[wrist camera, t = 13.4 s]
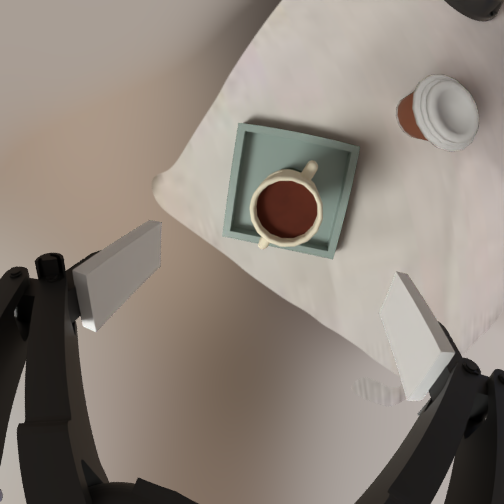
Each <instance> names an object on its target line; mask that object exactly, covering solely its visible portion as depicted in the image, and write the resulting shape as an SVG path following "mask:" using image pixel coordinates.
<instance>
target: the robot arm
mask: <svg viewBox="0 0 504 504" xmlns="http://www.w3.org/2000/svg"><path fill="white" fill-rule="evenodd" d="M445 1H446V2H447V3H448V4H449V5H450V6H452V7H453V8H454V9H456V10H457V11H458V12H460V13H462V14H463V15H465V16H467V17H469V18H471V19H474V20H477V21H487V20H489V19H491V18H493V17H495V16H496V15H497V13H498V11H499V9H500V8H501V6H502V4H503V2H504V0H445ZM161 225H162V222H157V221H153V220H149V221H147V222H146V223H144V224H142V225H141V226H139V227H137V228H136V229H134V230H133V231H131V232H129V233H128V234H126V235H125V236H123V237H121V238H120V239H118V240H117V241H115V242H114V243H112V244H110V245H109V246H107V247H106V248H104V249H103V250H100V251H97V252H94V253H92V254H90V255H88V256H87V257H86V258H85V259H82V260H81V261H80V262H78V263H77V264H75V265H74V266H72V267H71V268H69V269H68V270H66V271H65V265H64V258H63V256H62V255H61V254H59V253H47V254H44V255H41V256H40V257H38V258H37V259H36V260H35V265H36V270H37V275H38V279H33V278H29V273H28V269H27V268H25V267H15V268H14V267H13V268H11V269H10V270H8V271H7V272H6V273H5V274H4V275H3V276H2V278H1V279H0V465H1V459H2V454H3V449H4V443H5V437H6V432H7V427H8V422H9V418H10V413H11V409H12V405H13V401H14V397H15V394H16V390H17V387H18V383H19V380H20V377H21V373H22V371H23V368H24V365H25V361H26V373H25V422H24V423H19V425H18V427H17V442H18V454H19V462H20V470H21V477H22V483H23V488H24V493H25V498H26V503H27V504H198V503H196V502H194V501H192V500H190V499H188V498H187V497H185V496H183V495H181V494H179V493H178V492H176V491H173V490H170V489H167V488H164V487H161V486H158V485H156V484H153V483H151V482H148V481H145V480H143V479H141V478H138V479H137V481H136V483H135V484H134V483H125V482H110V483H109V481H108V478H107V476H106V474H105V472H104V470H103V468H102V466H101V463H100V460H99V458H98V454H97V450H96V446H95V443H94V439H93V435H92V430H91V426H90V422H89V417H88V412H87V406H86V401H85V395H84V389H83V383H82V376H81V367H80V359H79V349H78V336H77V325H76V321H75V320H76V319H77V318H78V317H79V316H81V320H82V324H83V327H85V328H88V329H90V330H92V331H95V332H97V331H98V330H99V329H100V328H101V327H102V326H103V324H104V323H105V322H106V321H107V320H108V319H109V318H110V317H111V316H112V315H113V314H114V313H115V312H116V311H117V310H118V309H119V307H121V306H122V304H123V303H124V302H125V301H126V300H127V299H128V298H129V297H130V296H131V295H132V294H133V293H134V292H135V291H136V290H137V289H138V288H139V287H140V286H141V285H142V284H143V283H144V282H145V281H146V280H147V279H148V278H149V277H150V276H151V275H152V274H153V273H154V272H155V271H156V270H157V269H158V268H159V267H160V259H161V258H160V257H161V256H160V255H161ZM379 314H380V317H381V320H382V323H383V326H384V328H385V331H386V334H387V337H388V340H389V343H390V346H391V349H392V352H393V355H394V358H395V361H396V364H397V368H398V371H399V374H400V378H401V381H402V385H403V388H404V392H405V395H406V399H407V400H408V401H421V400H422V399H423V398H424V397H425V395H426V394H427V393H428V391H429V393H430V396H431V398H430V400H429V401H428V402H427V403H426V405H425V406H424V407H423V408H422V410H420V412H419V413H418V415H420V416H419V417H418V419H417V421H416V422H415V424H414V426H413V427H412V429H411V430H410V432H409V434H408V435H407V437H406V438H405V440H404V441H403V443H402V444H401V446H400V447H399V449H398V450H397V451H396V453H395V454H394V456H393V457H392V459H391V460H390V461H389V463H388V464H387V465H386V467H385V468H384V469H383V470H382V472H381V473H380V474H379V476H378V477H377V478H376V479H375V481H374V482H373V483H372V484H371V485H370V487H369V488H368V489H367V490H366V491H365V493H364V494H363V495H362V496H361V497H360V498H359V499H358V500H357V501H356V503H355V504H431V502H432V500H433V499H434V497H435V495H436V493H437V491H438V489H439V487H440V485H441V483H442V482H443V480H444V478H445V476H446V474H447V472H448V469H449V467H450V465H451V463H452V461H453V458H454V456H455V458H454V464H453V469H452V474H451V479H450V483H449V487H448V491H447V495H446V499H445V502H444V504H504V371H503V370H500V369H495V370H494V372H493V373H492V374H491V376H490V377H488V376H484V375H481V371H480V369H479V367H478V366H477V364H476V363H474V362H473V361H472V360H469V359H468V358H462V356H461V354H460V352H459V351H458V349H457V347H456V345H455V343H454V342H453V340H452V338H451V336H450V335H449V333H448V331H447V330H446V328H445V327H444V326H443V325H442V324H441V323H440V322H439V321H437V320H436V318H435V316H434V315H433V313H432V311H431V310H430V308H429V306H428V305H427V303H426V302H425V300H424V298H423V297H422V295H421V294H420V292H419V291H418V289H417V288H416V286H415V285H414V283H413V282H412V280H411V279H410V277H409V276H408V274H405V273H400V272H396V273H395V275H394V278H393V280H392V283H391V285H390V288H389V290H388V293H387V295H386V298H385V300H384V303H383V305H382V307H381V310H380V312H379ZM14 315H15V316H14ZM485 419H486V420H485ZM2 498H3V494H2V491H1V489H0V501H1V500H2Z"/></svg>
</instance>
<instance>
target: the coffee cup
mask: <svg viewBox="0 0 504 504" xmlns="http://www.w3.org/2000/svg"><path fill="white" fill-rule="evenodd" d="M396 118H397V121H398V124H399V126H400V127H401V129H402V130H403V132H405V133H406V134H407V135H409V136H410V137H414V138H417V139H423V140H427V141H430V142H431V143H432V144H433V145H434V146H435V147H437V148H440V149H443V150H446V151H449V152H453V151H460V150H463V149H465V148H466V147H467V146H468V145H470V144H471V143H472V141H473V139H474V137H475V135H476V133H477V129H478V126H479V113H478V109H477V105H476V103H475V101H474V99H473V97H472V96H471V94H470V93H469V92H468V91H467V89H466V88H465V87H463V86H462V85H461V84H460V83H459V82H458V81H457V80H455V79H453V78H451V77H448V76H446V75H443V74H442V75H430V76H428V77H427V78H425V79H424V80H422V81H421V82H419V84H418V86H417V88H416V90H415V92H413V93H411V94H410V95H408V96H406V97H405V98H403V99H402V100H400V102H399V104H398V105H397V108H396Z"/></svg>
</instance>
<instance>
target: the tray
mask: <svg viewBox="0 0 504 504" xmlns="http://www.w3.org/2000/svg"><path fill="white" fill-rule="evenodd" d="M359 150H360V147H358V146H355V145H351V144H347V143H343V142H339V141H335V140H331V139H327V138H322V137H318V136H313V135H308V134H304V133H299V132H293V131H288V130H283V129H277V128H271V127H265V126H258V125H252V124H244V123H238V129H237V135H236V142H235V148H234V155H233V161H232V168H231V175H230V182H229V189H228V196H227V204H226V211H225V219H224V226H223V234H222V236H223V237H228V238H233V239H238V240H243V241H248V242H253V243H258V244H259V240H260V237H261V235H260V234H258V233H257V231H256V229H255V227H254V225H253V223H252V221H251V216H250V203H251V198H252V196H253V194H254V192H255V191H256V189H257V188H258V187H259V185H260V184H261V183H262V182H263V181H264V180H265V179H266V178H267V177H268V176H269V175H270V174H272V173H274V172H276V171H278V170H281V169H284V168H295V169H298V170H300V171H303V169H304V168H305V166H306V164H307V163H308V162H309V161H311V160H313V161H316V163H317V164H318V170H317V171H316V173H315V175H314V176H313V178H312V179H311V180H312V181H313V182H314V183H315V186H316V188H317V190H318V193H319V195H320V198H321V200H322V203H323V220H322V223H321V225H320V227H319V230H318V232H317V233H316V234H315V235H314V236H313V237H312V238H311V239H310V240H308V241H307V242H305V243H302V244H300V245H297V246H295V247H280V246H277V245H275V244H272V243H270V244H269V245H268V246H272V247H277V248H282V249H286V250H291V251H296V252H301V253H305V254H310V255H315V256H320V257H324V258H329V259H333V257H334V254H335V250H336V246H337V243H338V239H339V236H340V232H341V228H342V224H343V220H344V216H345V212H346V208H347V204H348V200H349V196H350V192H351V188H352V183H353V179H354V174H355V170H356V165H357V160H358V155H359Z"/></svg>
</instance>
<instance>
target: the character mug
mask: <svg viewBox="0 0 504 504" xmlns="http://www.w3.org/2000/svg"><path fill="white" fill-rule="evenodd" d="M317 170H318V164H317V163H316V161H313V160H311V161H309V162H308V163H307V164H306V166H305V168H304V169H303V171H300V170H298V169H295V168H284V169H281V170H278V171H276V172H274V173H272V174H270V175H269V176H268V177H267V178H266V179H265V180H264V181H263V182H262V183H261V184H260V185H259V187H258V188H257V189H256V191H255V192H254V194H253V196H252V198H251V203H250V216H251V221H252V223H253V225H254V227H255V229H256V231H257V233H258V234H260V235H261V237H260V240H259V244H258V246H259V248H260V249H265V248H267V247H268V245H269V244H270V243H272V244H275V245H277V246H280V247H295V246H297V245H300V244H302V243H305V242H307V241H308V240H310V239H311V238H312V237H313V236H314V235H315V234H316V233H317V232H318V230H319V227H320V225H321V223H322V220H323V203H322V200H321V198H320V195H319V193H318V190H317V188H316V186H315V183H314V182H313V181H312V180H311V179H312V178H313V176H314V175H315V173H316V171H317Z"/></svg>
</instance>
